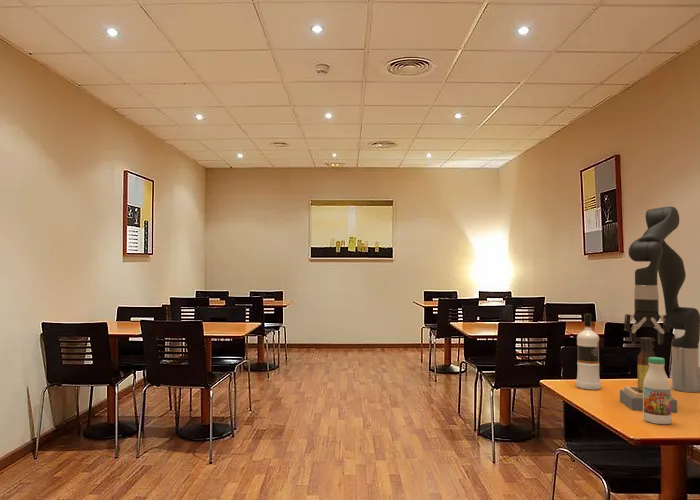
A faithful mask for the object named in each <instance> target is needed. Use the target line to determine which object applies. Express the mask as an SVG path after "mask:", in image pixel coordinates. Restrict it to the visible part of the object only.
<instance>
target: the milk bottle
mask: <svg viewBox="0 0 700 500" xmlns="http://www.w3.org/2000/svg"><path fill="white" fill-rule="evenodd" d="M648 362H649V363H648V364H649V369H648V372H647V374H646V376H645V378H644V382H643V411H642V415H643V416H642V417H643V421H645V422H647V423H651V424H656V425H670V424H671V422H672V412H671V395H672V393H671V390H672V389H671V388H672V386H671V383H670V380H669V377H668V375H667V373H666V371H665V366H666V365H665V363H666V359H665V358H664V357H658V356H655V357H649V358H648Z"/></svg>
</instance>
